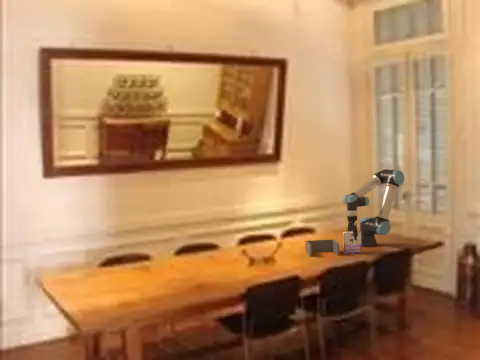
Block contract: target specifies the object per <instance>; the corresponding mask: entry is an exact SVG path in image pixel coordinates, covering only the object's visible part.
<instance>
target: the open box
mask: <svg viewBox="0 0 480 360" xmlns="http://www.w3.org/2000/svg"><path fill="white" fill-rule="evenodd" d="M304 244H305V247H304V248H305V253H306V254H307V255H308V256H309V258H310V257H311V258H312V257H313V253H317V252H318V253H319V252H333V253H334V254H335V255H336V254H337V255H336V256H340V243H339V242H338V241H336V240H335V239H315V240H314V239H313V240H311V239H309V240H305V242H304Z"/></svg>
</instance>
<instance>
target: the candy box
mask: <svg viewBox="0 0 480 360" xmlns="http://www.w3.org/2000/svg"><path fill="white" fill-rule="evenodd" d="M357 232H358V236H357V244H355V245H354V244H353V230H352V232H348V231H343V232H342V246H343V247H342V250H343V252H342V253H343V254H362V253H363V249H362V247H363V246H362V237H361V231H360V230H359V231H358V230H357Z"/></svg>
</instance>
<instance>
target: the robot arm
mask: <svg viewBox="0 0 480 360" xmlns="http://www.w3.org/2000/svg"><path fill="white" fill-rule="evenodd" d="M404 183H405V175H404V173H403V172H402V171H401V170H400V169H399V170H398V169H387V168H386V169H381V170H380V171H378V172H376V173H375V174H373V175H372V176H371V178H370V179H369V180H367V181H366V182H364V183H363V184H362V185H361V186H359V187H358V188H357V189H355V190H354V191H353V192H351V193H350V194H345V195H344V196H343V197H342V202H343V203H344V204H346V208H347V211H346V213H347V214H346V217H347V219H346V220H347V223H348V224H347V231H346V232H352V231H353V244H354V245H355V244H357V236H358V232H357V231H358V227H357V225H358V224H357V222H356V221H358V208H361V207H367V206H369V204H370V198H369V197H368V196H365V195H366V194H368V193H369V192H371V191H372V190H373V189H375V188H376V187H378V186H380V185H382V184H384V186H385V188H384V192H383V195H382V199H381V202H380V206H379V209H378V213H377V215H375V216H366V217H364V216H363V217H361V218H360V221H359V229H360V230H359V231H361V237H362V247H363V246H365V248H366V247H367V248H371V247H370V246H373V247H376V246H375V245H378V242H377V239H376V235H378V236H386V235H388V234H389V232H390V231H391V228H392V227H391V223H390V221H391V220H390V219H389V216H390V213H391V209H392V206H393V203H394V199H395V196H396V192H397V190H398V189H400V186H401V185H403V184H404Z"/></svg>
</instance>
